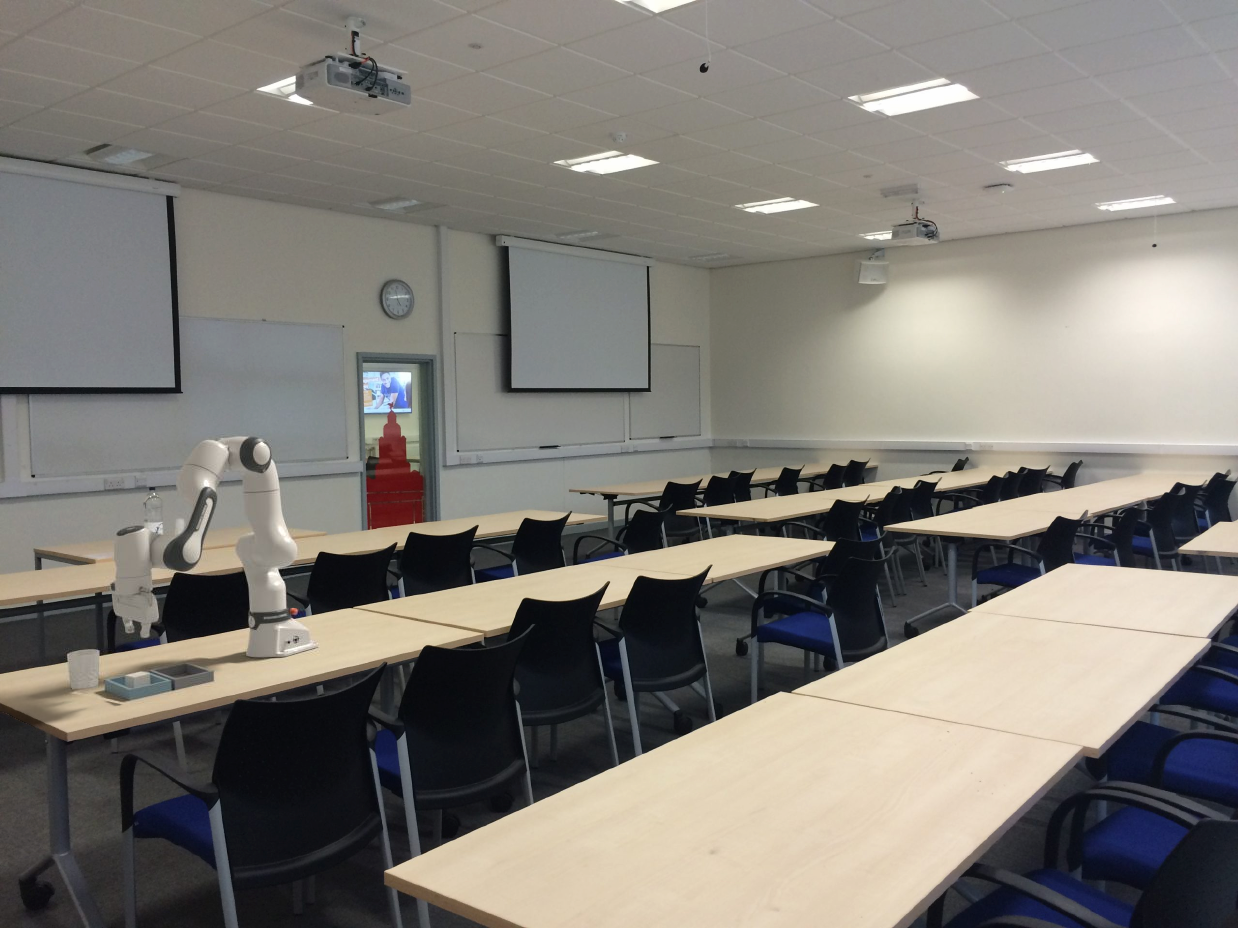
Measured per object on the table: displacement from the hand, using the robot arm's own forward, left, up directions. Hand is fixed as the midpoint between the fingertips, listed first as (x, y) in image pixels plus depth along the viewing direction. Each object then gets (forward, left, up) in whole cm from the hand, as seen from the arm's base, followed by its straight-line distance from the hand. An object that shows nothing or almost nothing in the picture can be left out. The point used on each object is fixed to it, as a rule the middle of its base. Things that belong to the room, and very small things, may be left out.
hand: (137, 634), depth 253 cm
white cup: (+7, -18, -16) cm, 25 cm away
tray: (-12, 0, -16) cm, 20 cm away
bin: (0, 0, -16) cm, 16 cm away
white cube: (0, 0, -16) cm, 16 cm away
